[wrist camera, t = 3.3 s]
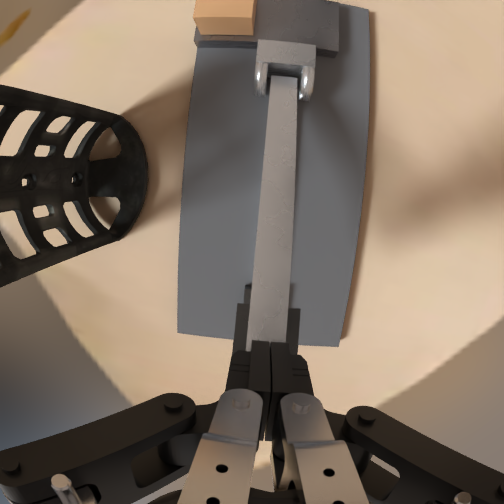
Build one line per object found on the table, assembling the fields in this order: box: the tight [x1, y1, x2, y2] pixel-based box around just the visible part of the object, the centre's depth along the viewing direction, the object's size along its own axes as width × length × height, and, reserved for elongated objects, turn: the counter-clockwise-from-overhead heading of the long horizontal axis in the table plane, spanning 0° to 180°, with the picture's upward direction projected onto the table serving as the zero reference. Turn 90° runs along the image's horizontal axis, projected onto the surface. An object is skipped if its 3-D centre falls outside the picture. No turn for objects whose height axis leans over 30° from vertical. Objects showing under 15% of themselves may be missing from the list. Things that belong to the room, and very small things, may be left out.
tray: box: [177, 3, 370, 347], centre depth 24 cm, size 30×14×1 cm, turn 175°
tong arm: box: [232, 75, 301, 355], centre depth 17 cm, size 19×3×1 cm, turn 176°
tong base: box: [194, 0, 339, 304], centre depth 22 cm, size 27×11×3 cm, turn 175°
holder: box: [0, 85, 148, 287], centre depth 16 cm, size 11×8×20 cm
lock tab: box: [193, 0, 257, 36], centre depth 18 cm, size 4×4×3 cm
